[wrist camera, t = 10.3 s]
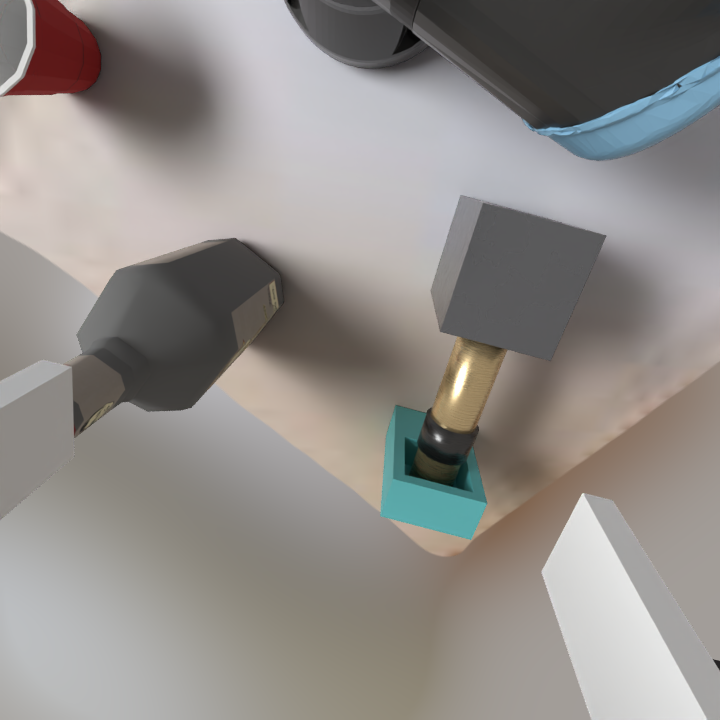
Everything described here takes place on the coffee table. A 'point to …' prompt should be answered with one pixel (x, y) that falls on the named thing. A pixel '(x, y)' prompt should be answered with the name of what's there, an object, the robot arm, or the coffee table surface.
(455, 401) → the brass tube
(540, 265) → the grey matte cuboid
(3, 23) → the plastic cup
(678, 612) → the robot arm
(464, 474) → the socket
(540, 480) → the coffee table surface
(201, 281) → the liquor
